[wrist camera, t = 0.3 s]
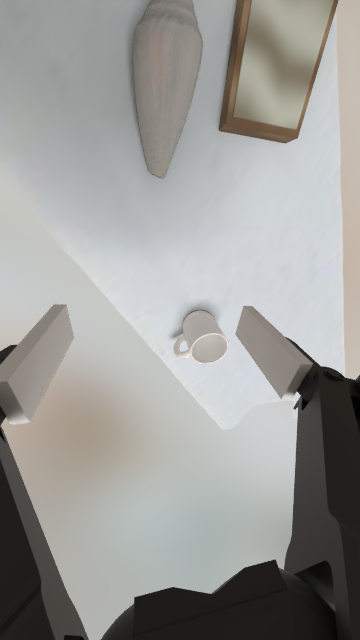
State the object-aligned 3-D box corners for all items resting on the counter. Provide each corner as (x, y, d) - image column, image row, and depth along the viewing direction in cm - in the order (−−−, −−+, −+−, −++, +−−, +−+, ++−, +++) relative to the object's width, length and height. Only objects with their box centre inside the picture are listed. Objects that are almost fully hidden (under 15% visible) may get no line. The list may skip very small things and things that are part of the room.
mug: (178, 348, 52) (186, 377, 43) (163, 327, 47) (167, 354, 38) (218, 327, 50) (234, 352, 41) (205, 303, 46) (220, 326, 37)
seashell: (165, 120, 34) (198, -50, 20) (194, 175, 33) (249, 42, 19) (119, 121, 31) (119, -78, 17) (150, 182, 30) (177, 30, 16)
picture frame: (240, -26, 23) (254, -58, 20) (323, 4, 25) (346, -21, 23) (218, 130, 30) (226, 123, 27) (285, 143, 32) (298, 137, 30)
